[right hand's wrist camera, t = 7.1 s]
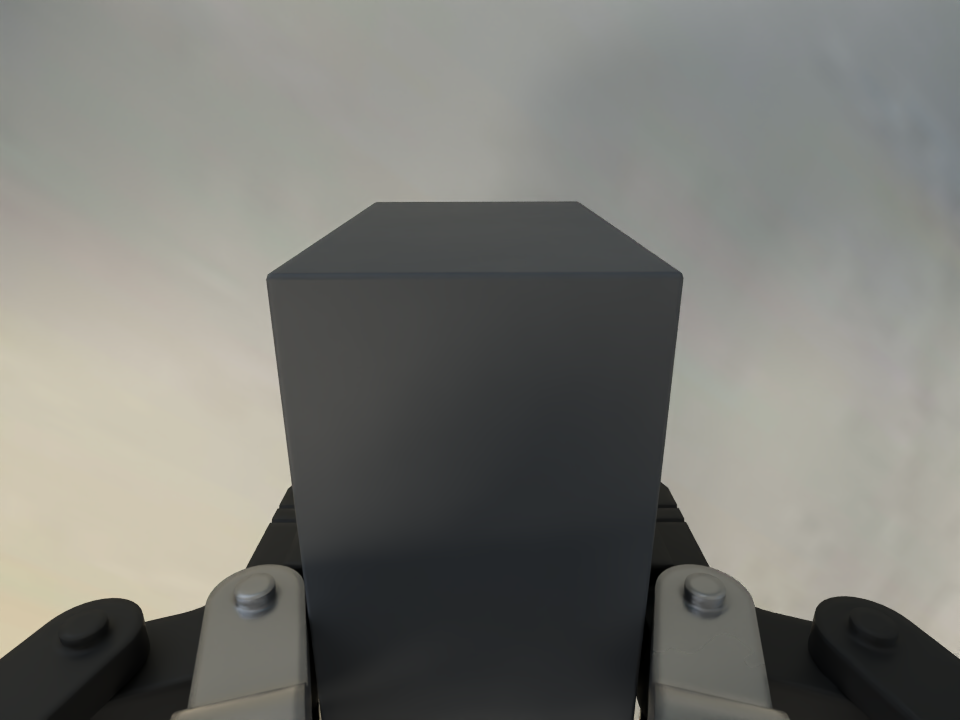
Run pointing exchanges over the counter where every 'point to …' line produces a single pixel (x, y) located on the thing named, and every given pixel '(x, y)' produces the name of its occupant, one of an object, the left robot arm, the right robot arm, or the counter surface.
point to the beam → (476, 456)
